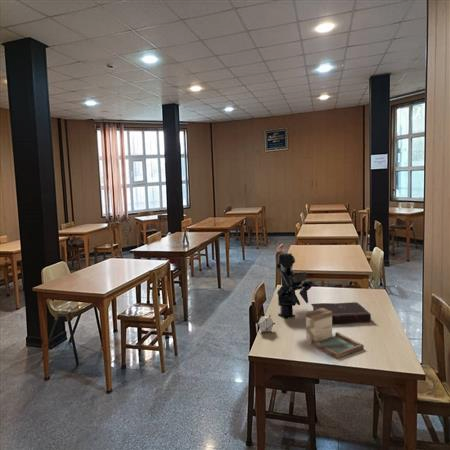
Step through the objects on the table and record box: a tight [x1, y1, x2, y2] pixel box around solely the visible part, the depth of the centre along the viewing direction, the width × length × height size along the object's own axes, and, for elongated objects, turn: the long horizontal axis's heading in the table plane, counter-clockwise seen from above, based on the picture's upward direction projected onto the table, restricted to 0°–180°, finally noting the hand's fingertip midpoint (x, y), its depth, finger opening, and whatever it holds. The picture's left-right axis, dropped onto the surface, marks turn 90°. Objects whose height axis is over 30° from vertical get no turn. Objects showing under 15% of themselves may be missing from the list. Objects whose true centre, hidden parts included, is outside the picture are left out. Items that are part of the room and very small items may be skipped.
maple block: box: [305, 308, 333, 342], centre depth 168 cm, size 6×10×12 cm, turn 118°
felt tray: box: [310, 331, 365, 360], centre depth 159 cm, size 15×15×2 cm
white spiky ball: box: [257, 314, 276, 334], centre depth 176 cm, size 9×8×10 cm
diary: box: [310, 301, 372, 325], centre depth 191 cm, size 19×25×5 cm
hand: (303, 303), depth 176 cm, fingers open, 5 cm apart
